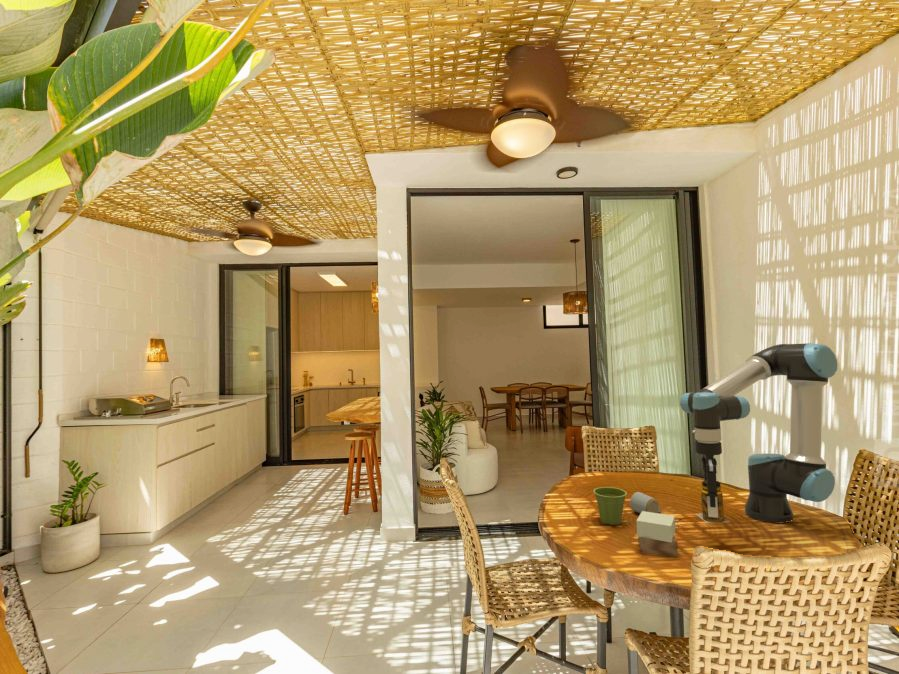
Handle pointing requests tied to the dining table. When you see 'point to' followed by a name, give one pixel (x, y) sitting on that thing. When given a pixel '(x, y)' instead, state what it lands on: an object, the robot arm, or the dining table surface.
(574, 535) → the dining table surface
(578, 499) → the dining table surface
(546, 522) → the dining table surface
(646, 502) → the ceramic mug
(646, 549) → the walnut block
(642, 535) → the sage block
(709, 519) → the condiment
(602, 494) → the plant pot
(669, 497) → the dining table surface
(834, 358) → the robot arm
